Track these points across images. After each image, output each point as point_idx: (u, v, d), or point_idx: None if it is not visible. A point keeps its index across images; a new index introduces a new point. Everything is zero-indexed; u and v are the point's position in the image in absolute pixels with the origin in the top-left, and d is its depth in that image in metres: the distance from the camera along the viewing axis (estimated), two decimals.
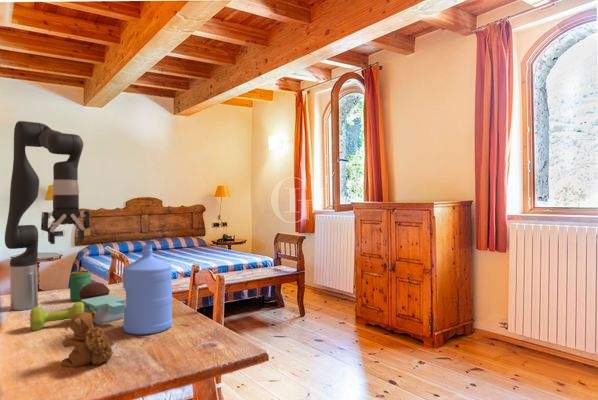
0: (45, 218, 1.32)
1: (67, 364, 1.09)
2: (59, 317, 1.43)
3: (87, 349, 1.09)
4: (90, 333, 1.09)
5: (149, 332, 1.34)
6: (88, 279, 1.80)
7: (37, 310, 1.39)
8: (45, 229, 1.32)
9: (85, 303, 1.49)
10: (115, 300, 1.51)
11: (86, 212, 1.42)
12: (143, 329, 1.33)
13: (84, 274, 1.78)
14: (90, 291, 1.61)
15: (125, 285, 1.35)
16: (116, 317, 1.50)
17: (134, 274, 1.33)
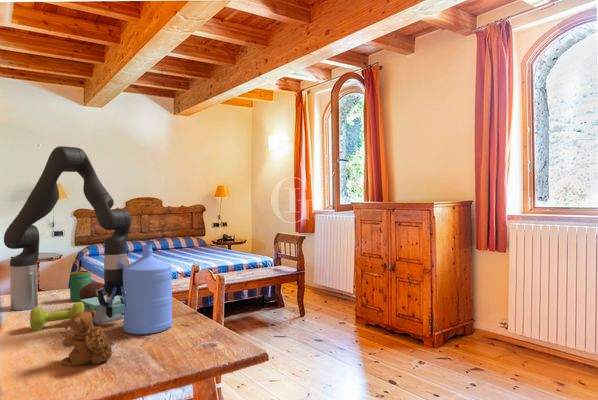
0: (100, 296, 1.40)
1: (67, 363, 1.09)
2: (59, 317, 1.43)
3: (87, 348, 1.10)
4: (90, 332, 1.09)
5: (149, 332, 1.34)
6: (88, 279, 1.80)
7: (37, 310, 1.39)
8: (104, 305, 1.41)
9: (85, 303, 1.49)
10: (115, 300, 1.51)
11: None
12: (143, 329, 1.33)
13: (84, 274, 1.78)
14: (90, 291, 1.61)
15: (125, 285, 1.35)
16: (116, 317, 1.50)
17: (134, 274, 1.33)
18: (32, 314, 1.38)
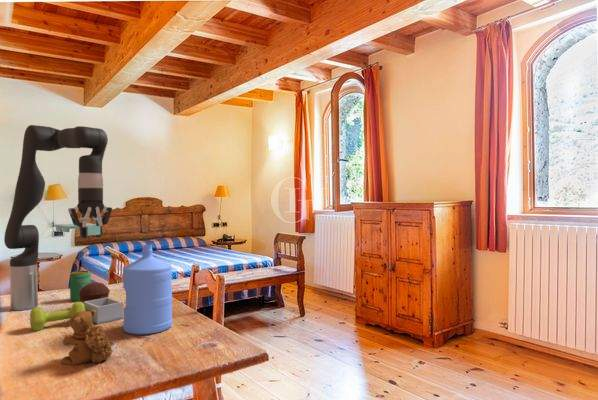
0: (74, 214, 1.35)
1: (67, 362, 1.10)
2: (60, 317, 1.43)
3: (87, 347, 1.11)
4: (90, 331, 1.10)
5: (149, 332, 1.34)
6: (88, 279, 1.80)
7: (38, 310, 1.39)
8: (78, 224, 1.36)
9: (59, 226, 1.44)
10: None
11: (109, 208, 1.44)
12: (143, 329, 1.33)
13: (84, 274, 1.78)
14: (90, 291, 1.61)
15: (125, 285, 1.35)
16: (116, 317, 1.50)
17: (134, 274, 1.33)
18: (33, 314, 1.38)
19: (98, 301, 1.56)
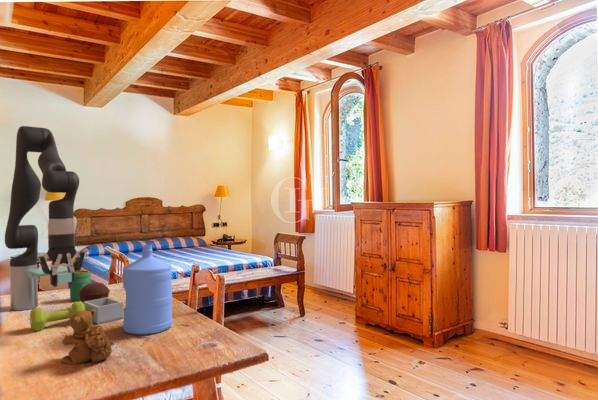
0: (43, 263, 1.30)
1: (67, 361, 1.11)
2: (60, 317, 1.43)
3: (87, 347, 1.11)
4: (90, 331, 1.10)
5: (149, 332, 1.34)
6: (88, 279, 1.80)
7: (39, 310, 1.39)
8: (47, 272, 1.31)
9: (30, 273, 1.40)
10: (63, 270, 1.41)
11: (82, 253, 1.39)
12: (143, 329, 1.33)
13: (84, 274, 1.78)
14: (90, 291, 1.61)
15: (125, 285, 1.35)
16: (116, 317, 1.50)
17: (134, 274, 1.33)
18: (34, 314, 1.37)
19: (98, 301, 1.56)
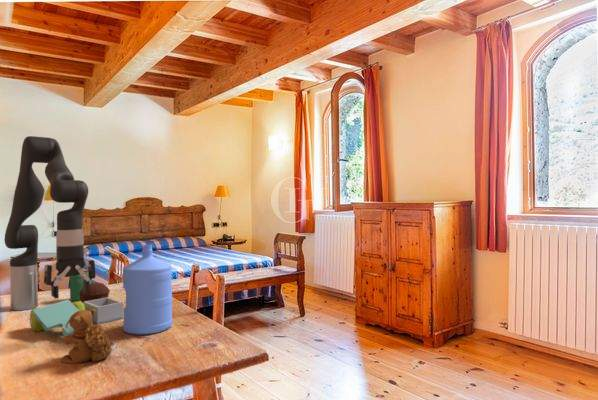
0: (48, 272, 1.25)
1: (67, 361, 1.11)
2: None
3: (87, 346, 1.12)
4: (90, 330, 1.11)
5: (149, 332, 1.34)
6: None
7: None
8: (48, 283, 1.25)
9: (38, 317, 1.34)
10: None
11: (91, 262, 1.34)
12: (143, 329, 1.33)
13: None
14: (90, 291, 1.61)
15: (125, 285, 1.35)
16: (116, 317, 1.50)
17: (134, 274, 1.33)
18: (34, 315, 1.37)
19: (98, 301, 1.56)
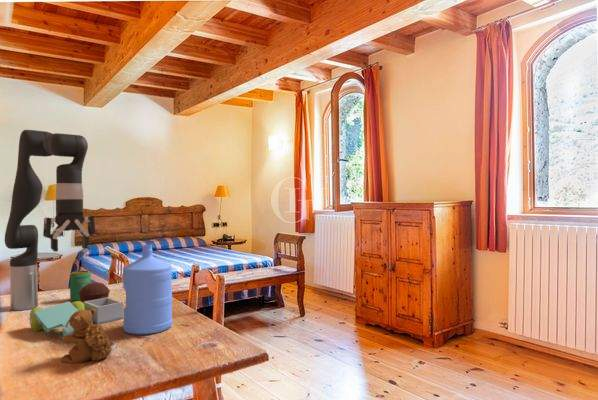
0: (48, 224, 1.25)
1: (67, 360, 1.11)
2: None
3: (87, 346, 1.12)
4: (90, 330, 1.11)
5: (149, 332, 1.34)
6: (88, 279, 1.80)
7: None
8: (48, 236, 1.25)
9: (38, 318, 1.34)
10: None
11: (91, 217, 1.34)
12: (143, 329, 1.33)
13: (84, 274, 1.78)
14: (90, 291, 1.61)
15: (125, 285, 1.35)
16: (116, 317, 1.50)
17: (134, 274, 1.33)
18: (34, 314, 1.37)
19: (98, 301, 1.56)
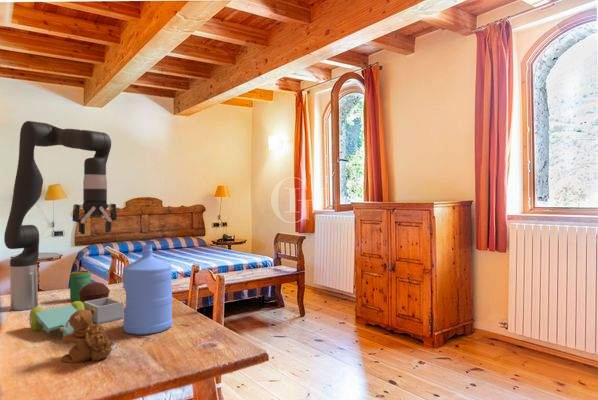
0: (76, 210, 1.43)
1: (67, 360, 1.11)
2: None
3: (87, 345, 1.12)
4: (90, 330, 1.11)
5: (149, 332, 1.34)
6: (88, 279, 1.80)
7: (39, 310, 1.39)
8: (76, 220, 1.43)
9: (39, 319, 1.34)
10: None
11: (113, 205, 1.52)
12: (143, 329, 1.33)
13: (84, 274, 1.78)
14: (90, 291, 1.61)
15: (125, 285, 1.35)
16: (116, 317, 1.50)
17: (134, 274, 1.33)
18: (34, 314, 1.38)
19: (98, 301, 1.56)
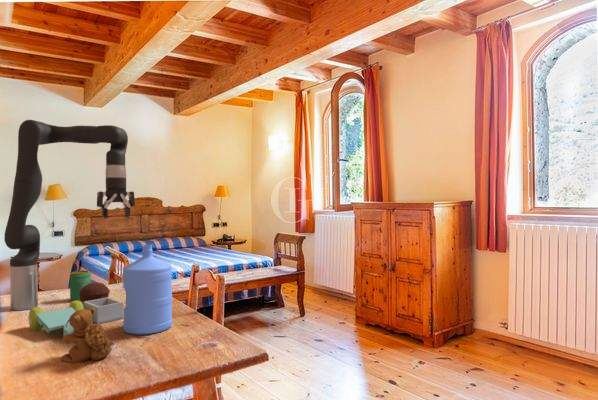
0: (100, 196, 1.60)
1: (67, 360, 1.12)
2: None
3: (87, 345, 1.12)
4: (90, 329, 1.12)
5: (149, 332, 1.34)
6: (88, 279, 1.80)
7: (38, 310, 1.39)
8: (100, 205, 1.60)
9: (40, 320, 1.35)
10: None
11: (132, 192, 1.70)
12: (143, 329, 1.33)
13: (84, 274, 1.78)
14: (90, 291, 1.61)
15: (125, 285, 1.35)
16: (116, 317, 1.50)
17: (134, 274, 1.33)
18: (34, 314, 1.38)
19: (98, 301, 1.56)
